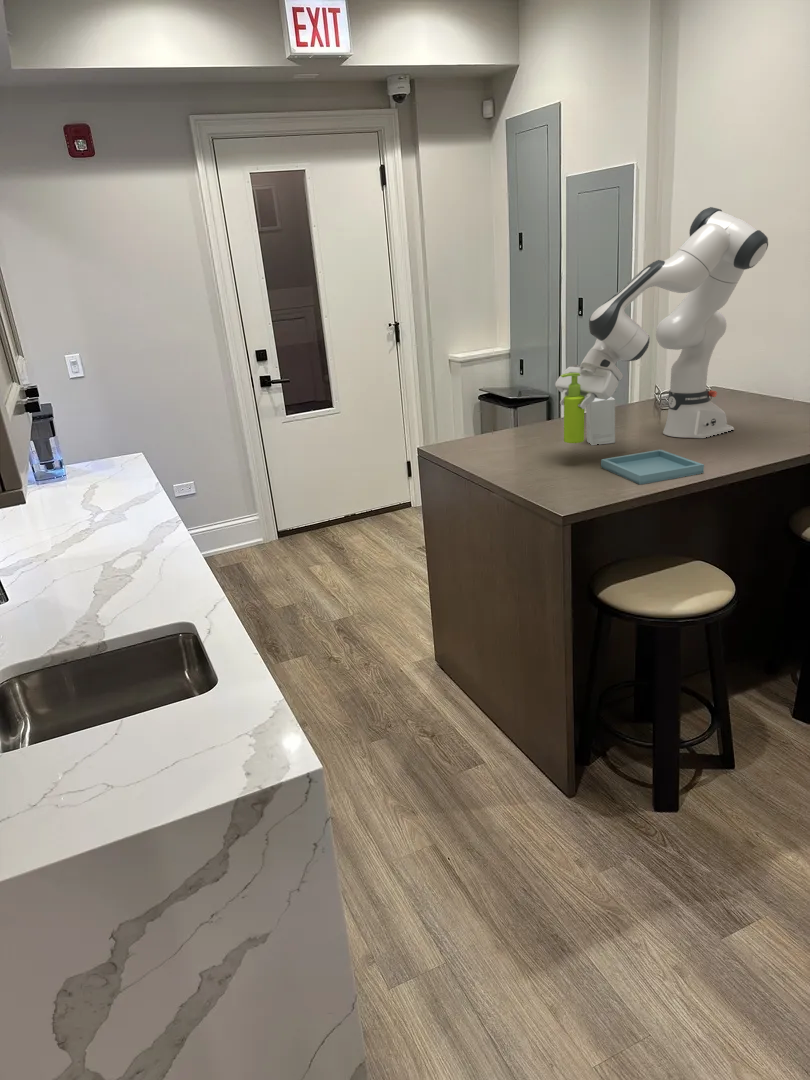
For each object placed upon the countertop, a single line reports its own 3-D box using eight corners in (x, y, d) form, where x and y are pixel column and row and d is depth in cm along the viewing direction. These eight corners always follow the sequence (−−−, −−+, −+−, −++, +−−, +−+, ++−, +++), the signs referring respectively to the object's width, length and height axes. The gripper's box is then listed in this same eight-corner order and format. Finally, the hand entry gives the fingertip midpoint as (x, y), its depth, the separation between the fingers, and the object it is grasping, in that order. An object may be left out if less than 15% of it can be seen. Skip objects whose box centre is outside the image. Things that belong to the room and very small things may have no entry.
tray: (660, 457, 221) (660, 449, 220) (703, 473, 203) (704, 464, 202) (600, 467, 216) (601, 459, 215) (639, 484, 198) (640, 475, 197)
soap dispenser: (558, 439, 222) (558, 372, 214) (580, 437, 222) (581, 370, 215) (563, 444, 216) (563, 375, 209) (586, 442, 216) (587, 373, 209)
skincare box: (610, 439, 246) (610, 395, 241) (615, 443, 240) (616, 398, 235) (585, 441, 246) (585, 397, 241) (590, 446, 240) (590, 400, 235)
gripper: (565, 357, 222) (541, 395, 221) (617, 363, 206) (591, 404, 205) (576, 370, 226) (552, 407, 225) (628, 377, 210) (602, 417, 209)
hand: (571, 406), depth 215 cm, fingers closed on soap dispenser, 6 cm apart
